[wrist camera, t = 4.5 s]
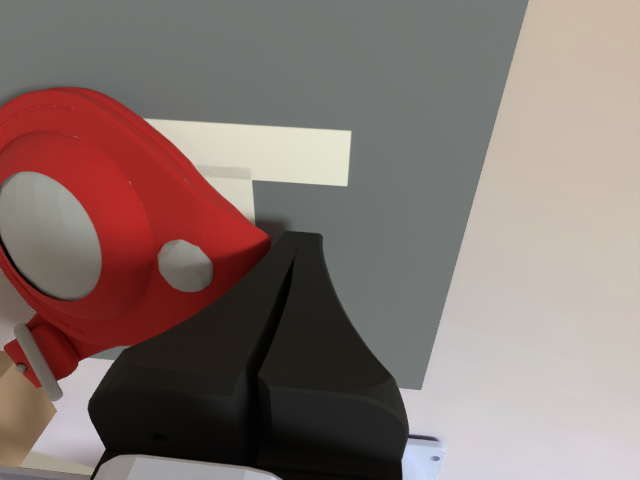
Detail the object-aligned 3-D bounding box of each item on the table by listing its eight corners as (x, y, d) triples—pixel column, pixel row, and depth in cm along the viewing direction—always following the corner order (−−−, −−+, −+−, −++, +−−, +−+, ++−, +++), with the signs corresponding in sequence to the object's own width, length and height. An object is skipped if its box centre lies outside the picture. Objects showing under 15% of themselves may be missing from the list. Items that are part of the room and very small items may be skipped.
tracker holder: (-103, 55, 11) (235, 138, 9) (48, 66, 15) (305, 125, 13) (-35, 404, 15) (197, 516, 13) (67, 341, 19) (258, 419, 17)
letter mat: (420, 386, 19) (420, 391, 19) (86, 353, 20) (83, 358, 20) (534, -34, 10) (538, -33, 9) (-101, -54, 11) (-111, -54, 10)
